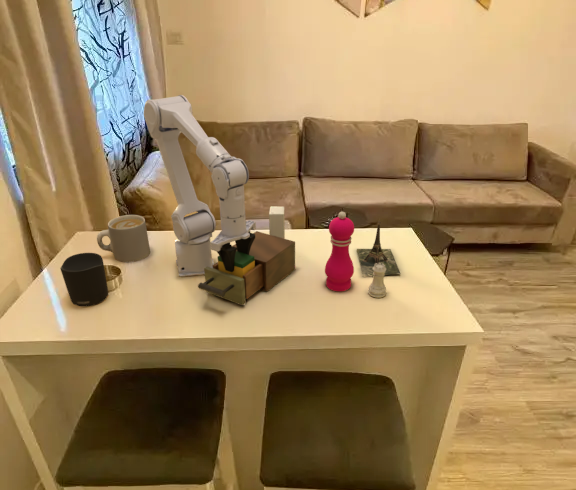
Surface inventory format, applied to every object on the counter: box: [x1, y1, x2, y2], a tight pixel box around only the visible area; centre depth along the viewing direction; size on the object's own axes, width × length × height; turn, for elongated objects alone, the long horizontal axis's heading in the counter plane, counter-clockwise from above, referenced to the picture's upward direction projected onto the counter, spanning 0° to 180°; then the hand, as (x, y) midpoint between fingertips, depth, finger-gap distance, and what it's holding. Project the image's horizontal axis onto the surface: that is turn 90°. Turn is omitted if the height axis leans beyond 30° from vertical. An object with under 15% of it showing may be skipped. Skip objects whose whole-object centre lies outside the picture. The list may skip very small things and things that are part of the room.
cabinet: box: [232, 230, 296, 293], centre depth 125 cm, size 13×12×8 cm
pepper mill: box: [324, 211, 355, 292], centre depth 117 cm, size 7×7×20 cm
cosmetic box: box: [268, 205, 286, 239], centre depth 138 cm, size 6×4×12 cm
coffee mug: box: [96, 214, 151, 263], centre depth 135 cm, size 13×10×10 cm
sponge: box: [217, 251, 255, 278], centre depth 116 cm, size 5×8×4 cm, turn 57°
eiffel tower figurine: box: [356, 217, 401, 278], centre depth 129 cm, size 15×10×13 cm
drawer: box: [197, 261, 264, 306], centre depth 117 cm, size 17×11×7 cm, turn 147°
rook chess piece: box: [367, 263, 387, 299], centre depth 117 cm, size 4×4×8 cm
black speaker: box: [59, 252, 109, 308], centre depth 115 cm, size 9×9×10 cm
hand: (236, 266), depth 116 cm, fingers closed on sponge, 5 cm apart
